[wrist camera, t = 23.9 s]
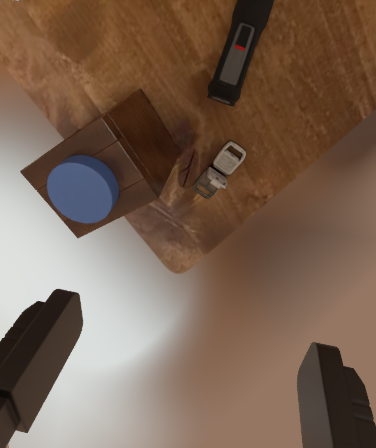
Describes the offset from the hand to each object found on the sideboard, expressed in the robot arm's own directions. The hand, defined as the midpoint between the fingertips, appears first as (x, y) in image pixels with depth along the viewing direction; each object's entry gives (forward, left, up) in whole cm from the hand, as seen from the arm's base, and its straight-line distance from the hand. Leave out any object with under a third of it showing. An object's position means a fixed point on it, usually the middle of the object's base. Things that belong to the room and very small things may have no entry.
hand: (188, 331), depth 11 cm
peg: (+7, +12, -28) cm, 32 cm away
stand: (+7, +12, -33) cm, 36 cm away
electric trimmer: (+4, -7, -34) cm, 34 cm away
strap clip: (-4, +7, -34) cm, 35 cm away
